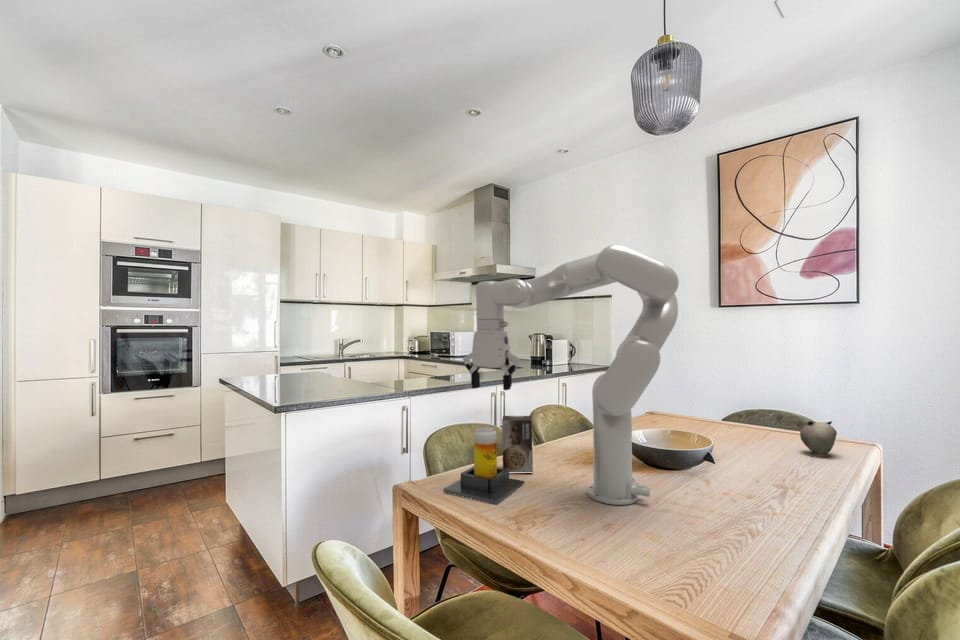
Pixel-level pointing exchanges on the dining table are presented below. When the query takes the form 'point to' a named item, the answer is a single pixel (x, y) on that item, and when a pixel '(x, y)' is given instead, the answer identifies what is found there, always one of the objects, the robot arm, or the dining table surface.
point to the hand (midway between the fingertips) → (491, 388)
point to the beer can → (485, 452)
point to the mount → (485, 486)
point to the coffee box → (517, 443)
